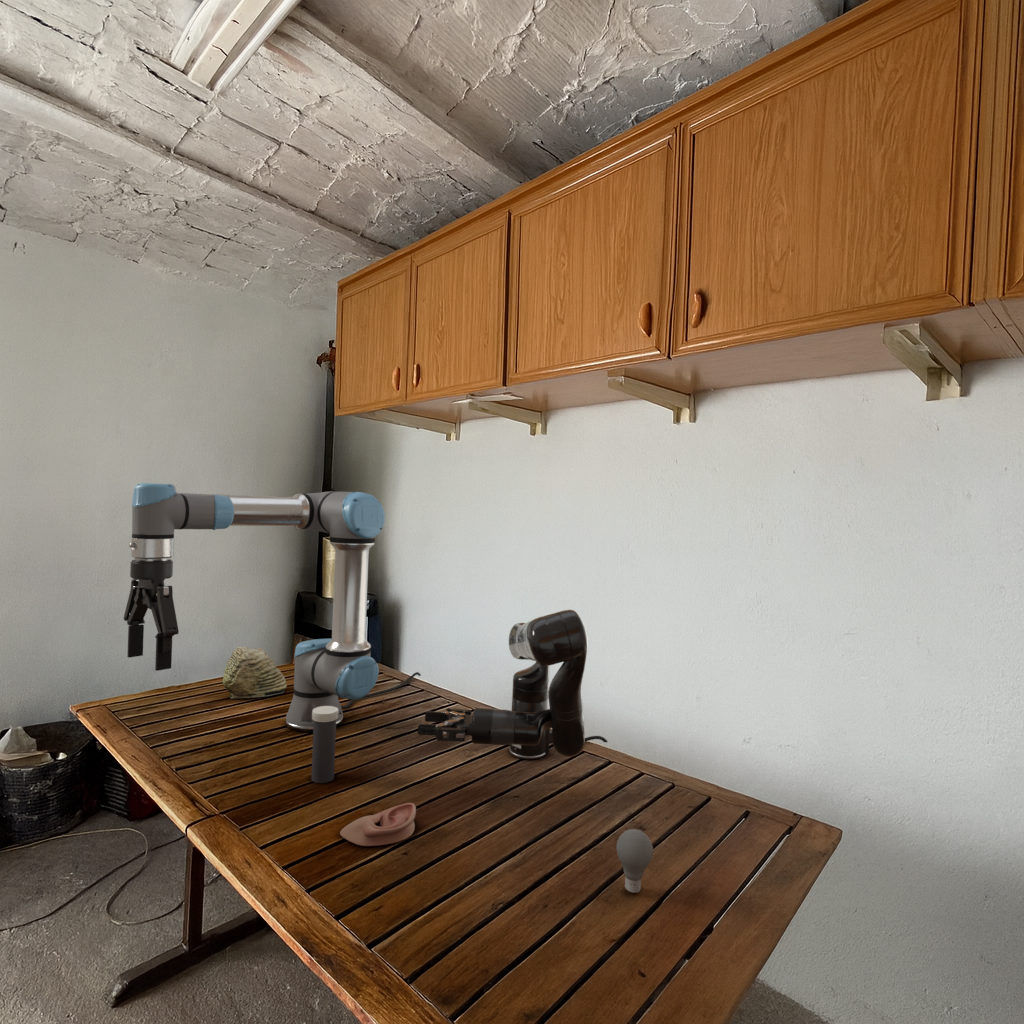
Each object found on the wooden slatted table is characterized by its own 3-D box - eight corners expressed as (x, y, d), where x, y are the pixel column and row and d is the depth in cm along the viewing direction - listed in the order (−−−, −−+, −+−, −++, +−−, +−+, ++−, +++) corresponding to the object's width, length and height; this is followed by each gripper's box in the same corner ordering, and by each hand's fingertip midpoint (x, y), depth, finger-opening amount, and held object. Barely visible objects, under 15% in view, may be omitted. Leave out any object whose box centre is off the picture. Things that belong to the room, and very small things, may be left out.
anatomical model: (332, 820, 116) (360, 792, 128) (332, 841, 116) (359, 811, 128) (400, 830, 114) (422, 801, 125) (400, 852, 114) (421, 821, 125)
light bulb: (610, 879, 108) (613, 822, 108) (644, 879, 109) (647, 822, 109) (619, 902, 102) (622, 840, 102) (655, 901, 103) (658, 840, 103)
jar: (318, 772, 145) (320, 707, 145) (337, 775, 144) (340, 709, 144) (307, 781, 141) (309, 714, 140) (327, 784, 140) (329, 716, 139)
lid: (319, 712, 146) (320, 704, 146) (342, 715, 144) (343, 707, 144) (306, 720, 140) (307, 712, 140) (330, 723, 139) (330, 715, 139)
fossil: (218, 695, 195) (220, 647, 195) (278, 685, 208) (279, 640, 207) (228, 703, 189) (230, 653, 188) (289, 692, 201) (290, 645, 201)
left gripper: (108, 554, 134) (104, 654, 134) (159, 565, 118) (155, 678, 119) (146, 552, 140) (143, 648, 140) (199, 563, 124) (195, 671, 124)
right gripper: (497, 700, 148) (428, 696, 148) (492, 720, 133) (416, 716, 134) (495, 732, 148) (426, 728, 148) (491, 755, 133) (414, 751, 134)
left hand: (148, 662), depth 129 cm, fingers open, 13 cm apart
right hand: (421, 722), depth 141 cm, fingers open, 8 cm apart
